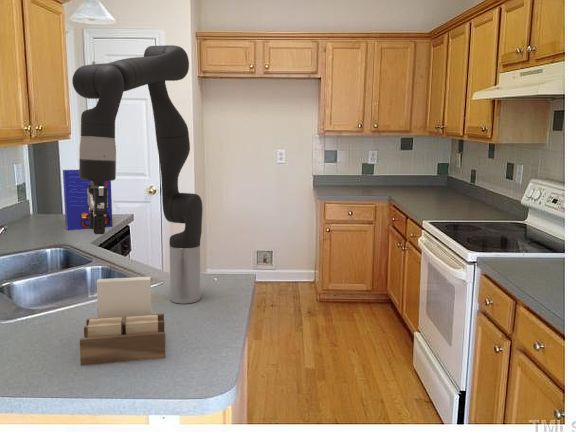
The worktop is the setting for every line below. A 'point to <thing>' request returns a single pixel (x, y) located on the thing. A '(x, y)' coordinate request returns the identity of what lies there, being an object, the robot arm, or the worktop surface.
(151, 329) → the offcut block
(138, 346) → the rack
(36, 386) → the worktop surface
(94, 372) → the worktop surface
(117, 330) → the offcut block
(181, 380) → the worktop surface
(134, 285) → the cutting board
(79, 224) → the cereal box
